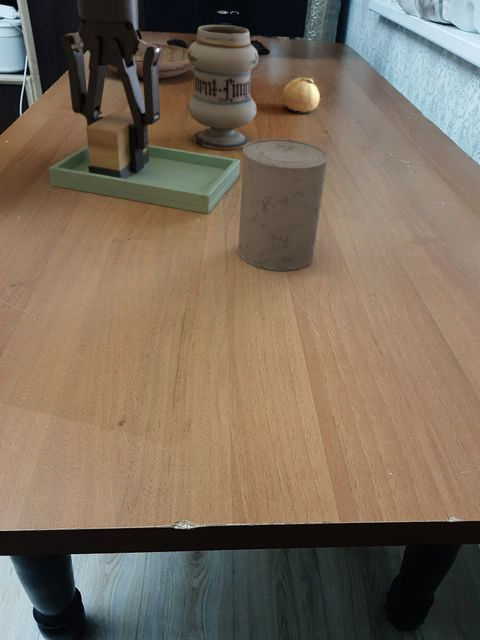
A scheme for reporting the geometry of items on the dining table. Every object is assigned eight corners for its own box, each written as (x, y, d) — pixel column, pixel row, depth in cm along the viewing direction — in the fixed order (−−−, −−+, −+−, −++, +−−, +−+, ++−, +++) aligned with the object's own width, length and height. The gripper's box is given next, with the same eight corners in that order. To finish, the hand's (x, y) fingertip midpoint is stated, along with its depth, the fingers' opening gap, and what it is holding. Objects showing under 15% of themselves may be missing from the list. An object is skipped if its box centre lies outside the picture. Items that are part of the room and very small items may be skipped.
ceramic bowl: (111, 60, 149) (109, 38, 146) (201, 68, 149) (201, 47, 146) (86, 79, 130) (83, 55, 127) (188, 89, 131) (188, 65, 128)
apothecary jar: (174, 137, 103) (171, 23, 92) (223, 127, 110) (227, 20, 99) (218, 156, 96) (222, 37, 85) (268, 144, 103) (277, 32, 93)
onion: (282, 114, 120) (285, 78, 116) (280, 104, 126) (283, 69, 122) (319, 117, 121) (324, 81, 116) (315, 107, 127) (319, 72, 123)
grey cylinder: (329, 255, 71) (346, 157, 63) (276, 279, 65) (287, 174, 58) (275, 228, 76) (284, 133, 68) (221, 247, 70) (225, 147, 63)
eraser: (121, 182, 81) (117, 132, 77) (89, 176, 82) (83, 127, 78) (149, 160, 89) (147, 114, 85) (119, 155, 90) (116, 109, 86)
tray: (51, 185, 81) (48, 167, 80) (101, 152, 93) (100, 136, 92) (208, 214, 78) (208, 195, 76) (239, 176, 90) (240, 159, 88)
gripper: (184, -11, 73) (185, 168, 87) (56, -26, 76) (77, 150, 90) (162, -6, 67) (167, 185, 81) (24, -22, 70) (52, 165, 84)
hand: (120, 166), depth 85 cm, fingers closed on eraser, 5 cm apart
